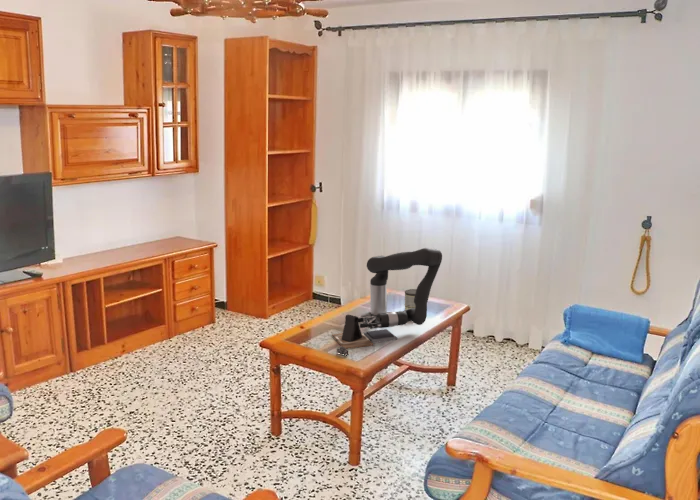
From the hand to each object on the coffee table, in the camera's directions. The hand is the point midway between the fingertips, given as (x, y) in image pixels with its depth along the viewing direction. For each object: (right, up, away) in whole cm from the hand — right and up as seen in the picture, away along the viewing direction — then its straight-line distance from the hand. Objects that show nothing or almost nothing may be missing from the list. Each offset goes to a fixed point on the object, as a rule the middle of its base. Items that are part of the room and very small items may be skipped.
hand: (357, 323), depth 304 cm
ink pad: (+12, -8, +5) cm, 15 cm away
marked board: (-2, -9, +1) cm, 9 cm away
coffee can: (+32, -1, +40) cm, 52 cm away
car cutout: (-3, -14, -20) cm, 25 cm away
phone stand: (-3, -8, +1) cm, 8 cm away
